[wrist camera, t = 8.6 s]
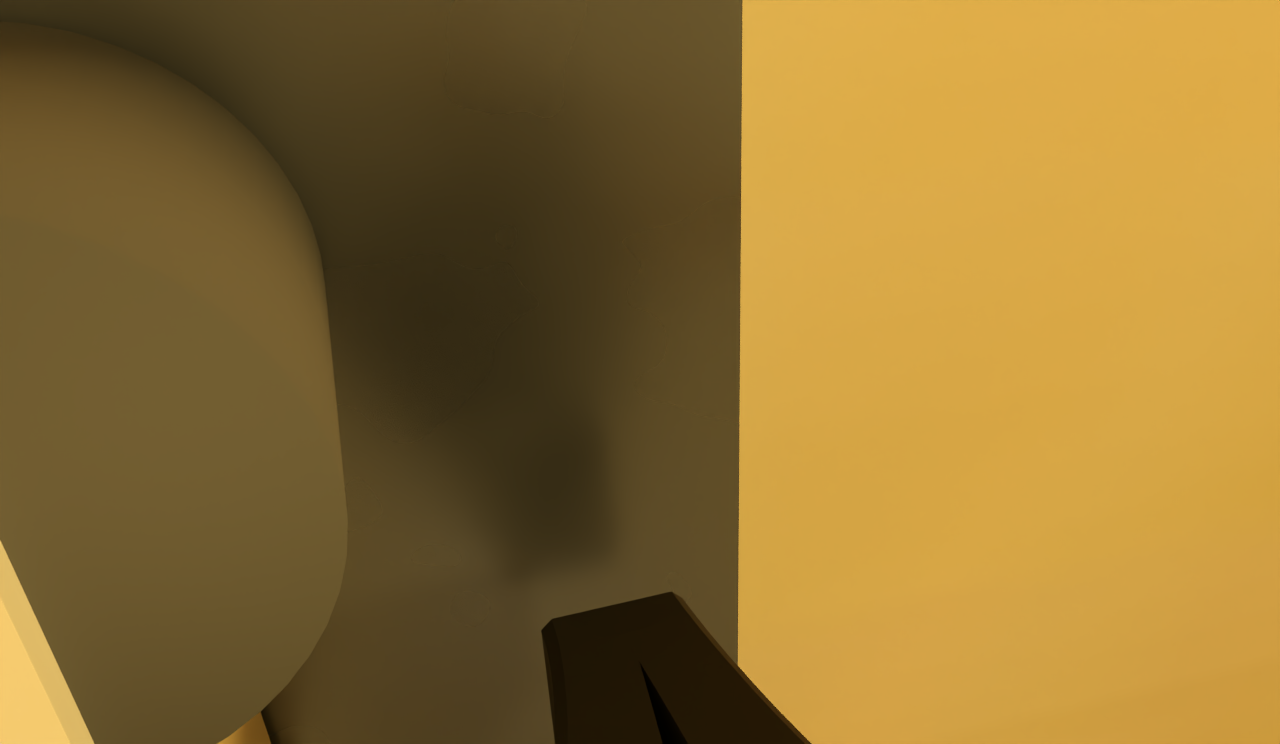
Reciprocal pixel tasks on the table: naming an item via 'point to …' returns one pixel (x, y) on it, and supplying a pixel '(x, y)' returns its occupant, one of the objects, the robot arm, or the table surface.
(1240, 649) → the table surface
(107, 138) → the knob
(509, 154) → the levelling plate
